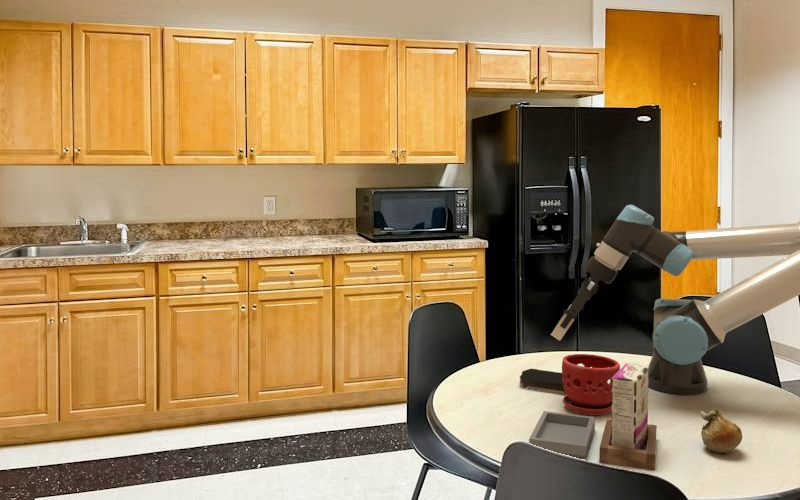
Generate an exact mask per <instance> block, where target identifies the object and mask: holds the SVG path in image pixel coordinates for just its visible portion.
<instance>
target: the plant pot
mask: <svg viewBox="0 0 800 500" xmlns="http://www.w3.org/2000/svg"><path fill="white" fill-rule="evenodd" d="M580 364H582V365H583V366H582V365H580ZM620 369H621V365H620V362H618V361H617V360H616V359H613V358H611V357H607V356H603V355H602V356H601V355H596V354H590V353H589V354H588V353H574V354H568V355H565V356H563V358H562V362H561V373H562V381H563V387H564V390H565V393H566V395H567V396H566V395H564V396H563V398H562V403H563V404H564V406H565V407H566V408H567V409H569V411H571V412H574V413H577V414H579V415H584V416H597V415H598V416H600V415H605V414H608V413H610V412H612V377H613V376H614V375H615V374H616V373H617V372H618V371H619V370H620ZM608 381H609V383H608Z"/></svg>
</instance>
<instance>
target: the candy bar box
mask: <svg viewBox="0 0 800 500" xmlns="http://www.w3.org/2000/svg"><path fill="white" fill-rule="evenodd" d="M648 366H649V365H640V364H636V363H635V364H633V363H625V364H624V365H623V366H622V367H620V370H619V371H618V372H617V373H616V374H615V375H614V376H613V377H612V410H611V420H612V430H611V446H617V447H621V441H623V442H630V443H634V449H639V450H645V449H644V448H646V446H647V442H648V441H647V432H648V424H649V419H648V418H649V387H648V372H649V367H648Z"/></svg>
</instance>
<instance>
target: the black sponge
mask: <svg viewBox="0 0 800 500" xmlns="http://www.w3.org/2000/svg"><path fill="white" fill-rule="evenodd" d="M519 387H520V388H521V387H522V388H521V389H523V388H528V389H527V390H530V389H534V390H533V391H537V390H540V391H539V392H543V391H545V392H544V393H549V392H551V393H550V394H555V393H558V394H557V395H561V394H564V395H563V396H566V393H565V390H564V387H563V381H562V372H557V371H550V370H544V369H537V368H528V369H526V370H525V369H524V370H523V371H522V372H521V374H520V375H519Z"/></svg>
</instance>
